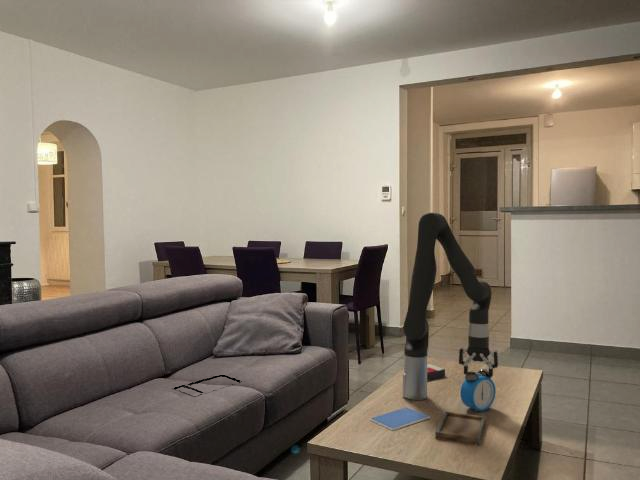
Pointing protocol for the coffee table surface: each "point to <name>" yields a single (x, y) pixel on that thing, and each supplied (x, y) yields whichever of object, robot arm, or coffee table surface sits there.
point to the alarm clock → (478, 390)
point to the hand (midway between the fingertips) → (478, 376)
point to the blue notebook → (399, 418)
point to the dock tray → (461, 428)
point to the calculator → (434, 372)
